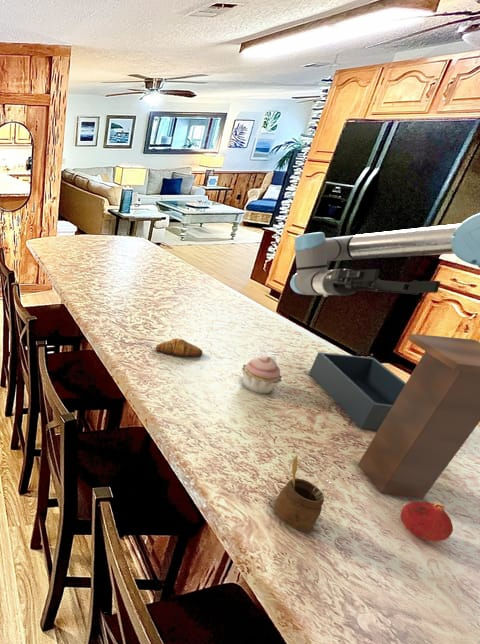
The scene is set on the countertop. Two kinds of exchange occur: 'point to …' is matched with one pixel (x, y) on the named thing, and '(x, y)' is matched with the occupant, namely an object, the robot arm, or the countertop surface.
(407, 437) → the stand
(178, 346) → the croissant
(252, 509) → the countertop surface
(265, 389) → the cupcake
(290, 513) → the utensil holder
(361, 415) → the bin
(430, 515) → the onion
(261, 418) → the countertop surface
